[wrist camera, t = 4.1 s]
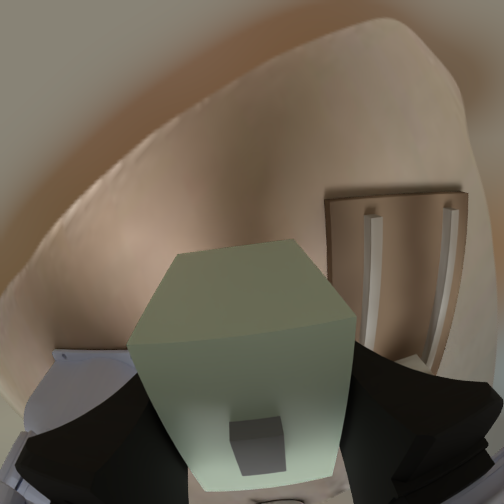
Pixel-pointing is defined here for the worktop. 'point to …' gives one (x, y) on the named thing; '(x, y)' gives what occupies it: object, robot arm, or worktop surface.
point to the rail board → (399, 270)
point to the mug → (284, 502)
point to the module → (248, 364)
